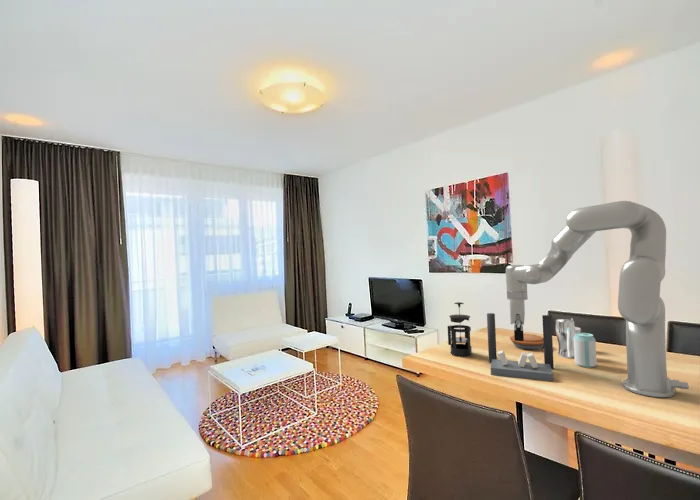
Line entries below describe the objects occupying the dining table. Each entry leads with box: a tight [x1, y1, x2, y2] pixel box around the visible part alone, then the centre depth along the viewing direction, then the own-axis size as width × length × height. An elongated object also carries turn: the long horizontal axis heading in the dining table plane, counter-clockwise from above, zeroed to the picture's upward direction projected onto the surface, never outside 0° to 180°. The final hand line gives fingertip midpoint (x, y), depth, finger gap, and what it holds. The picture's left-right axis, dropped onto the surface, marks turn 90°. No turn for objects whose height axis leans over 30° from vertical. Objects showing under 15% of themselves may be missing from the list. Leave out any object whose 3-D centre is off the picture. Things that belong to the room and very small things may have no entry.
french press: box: [447, 301, 473, 358], centre depth 154 cm, size 12×9×23 cm
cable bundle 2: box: [541, 314, 555, 370], centre depth 132 cm, size 3×3×20 cm
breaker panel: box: [490, 358, 554, 382], centre depth 128 cm, size 20×11×2 cm, turn 65°
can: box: [574, 332, 598, 369], centre depth 133 cm, size 7×7×12 cm
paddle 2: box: [526, 352, 538, 368], centre depth 126 cm, size 2×4×4 cm, turn 155°
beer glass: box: [555, 318, 576, 359], centre depth 145 cm, size 7×7×15 cm
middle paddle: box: [518, 351, 528, 368], centre depth 127 cm, size 2×4×4 cm, turn 155°
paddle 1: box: [497, 349, 509, 365], centre depth 130 cm, size 2×4×4 cm, turn 155°
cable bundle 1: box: [486, 312, 498, 364], centre depth 140 cm, size 3×3×20 cm
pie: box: [509, 333, 544, 351], centre depth 161 cm, size 15×16×5 cm
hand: (519, 337), depth 138 cm, fingers open, 9 cm apart
